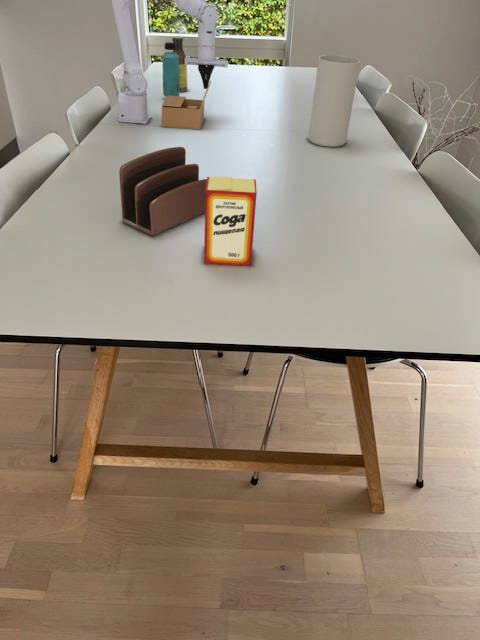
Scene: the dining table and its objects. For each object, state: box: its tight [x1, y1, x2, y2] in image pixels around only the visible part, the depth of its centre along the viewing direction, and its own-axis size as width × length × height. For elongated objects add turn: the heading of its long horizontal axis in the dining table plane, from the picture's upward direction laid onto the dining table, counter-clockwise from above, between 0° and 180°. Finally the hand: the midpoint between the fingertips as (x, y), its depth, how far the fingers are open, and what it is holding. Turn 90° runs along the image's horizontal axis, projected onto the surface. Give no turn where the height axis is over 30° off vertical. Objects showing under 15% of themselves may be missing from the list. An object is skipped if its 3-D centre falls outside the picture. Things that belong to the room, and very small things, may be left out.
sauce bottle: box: [172, 35, 188, 93], centre depth 217 cm, size 6×6×20 cm
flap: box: [200, 80, 212, 108], centre depth 180 cm, size 6×13×1 cm
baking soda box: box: [203, 176, 258, 267], centre depth 106 cm, size 10×6×16 cm
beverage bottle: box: [161, 41, 181, 98], centre depth 205 cm, size 6×7×20 cm
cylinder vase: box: [308, 54, 361, 148], centre depth 171 cm, size 12×12×25 cm
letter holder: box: [118, 146, 207, 237], centre depth 121 cm, size 10×20×14 cm, turn 141°
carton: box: [161, 95, 205, 130], centre depth 184 cm, size 13×13×7 cm
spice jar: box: [187, 106, 198, 109], centre depth 184 cm, size 4×4×5 cm
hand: (205, 88), depth 188 cm, fingers closed
